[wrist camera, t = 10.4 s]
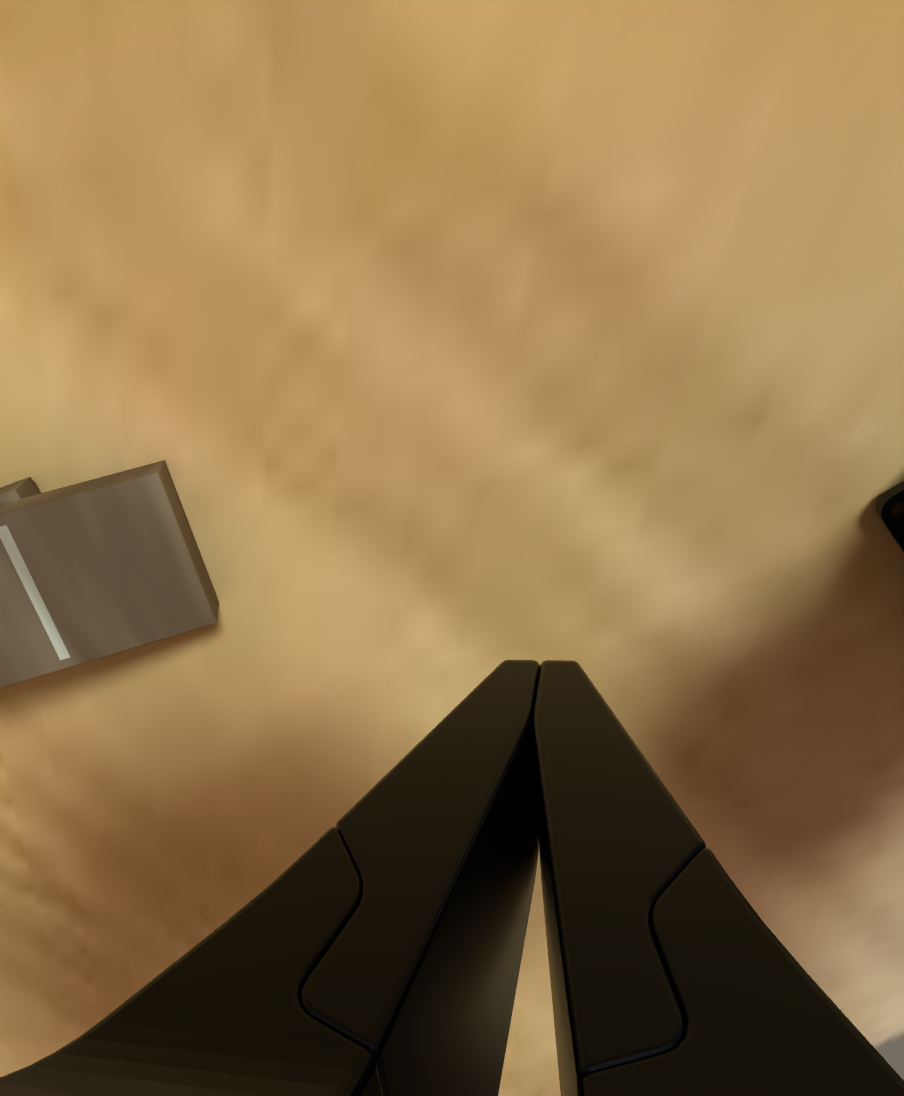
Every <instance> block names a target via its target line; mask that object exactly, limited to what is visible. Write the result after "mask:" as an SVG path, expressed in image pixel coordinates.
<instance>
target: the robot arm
mask: <svg viewBox="0 0 904 1096" xmlns="http://www.w3.org/2000/svg"><path fill="white" fill-rule="evenodd" d="M900 502H904V482H902V483H900V484H898V485H897V486H895V487H893V488H891V489H890V490H888V491H886V492H885V493H884V494H883V495H881V496H880V498H879V500H878V501H877V503H876V512H877V515H878V517H879V518H880V520H881V521H882V523H883V524H884V525H885V527H886V528H887V530H888V531H889V533H890V534H891V536H892V537H893V539H894V540H895V542H896V543H897V545H898V546H899V547H900V549H901V550H902V552H903V553H904V511H903V512H902V513H899V514H891V511H892V508H893V507H894V506H895V505H896V504H897V503H900ZM539 848H540V865H541V880H542V891H543V902H544V914H545V925H546V936H547V947H548V958H549V969H550V980H551V991H552V1002H553V1013H554V1024H555V1035H556V1047H557V1058H558V1069H559V1080H560V1091H561V1096H904V1081H903V1079H902V1078H901V1077H900V1076H899V1075H898V1074H897V1073H896V1071H895V1070H894V1069H893V1068H892V1067H891V1066H890V1065H889V1064H888V1063H887V1062H886V1060H885V1059H884V1058H883V1057H882V1056H881V1055H880V1054H879V1053H878V1052H877V1050H876V1049H875V1048H874V1047H873V1046H872V1045H871V1044H870V1043H869V1041H868V1040H867V1039H866V1038H865V1037H864V1036H863V1035H862V1034H861V1033H860V1031H859V1030H858V1029H857V1028H856V1027H855V1026H854V1025H853V1024H852V1023H851V1021H850V1020H849V1019H848V1018H847V1017H846V1016H845V1015H844V1014H843V1013H842V1011H841V1010H840V1009H839V1008H838V1007H837V1006H836V1005H835V1004H834V1003H833V1001H832V1000H831V999H830V998H829V997H828V996H827V995H826V994H825V993H824V991H823V990H822V989H821V988H820V987H819V986H818V985H817V984H816V983H815V981H814V980H813V979H812V978H811V977H810V976H809V975H808V974H807V972H806V971H805V970H804V969H803V968H802V967H801V965H800V964H799V963H798V962H797V961H796V960H795V959H794V957H793V956H792V955H791V954H790V953H789V952H788V950H787V949H786V948H785V947H784V946H783V945H782V943H781V942H780V941H779V940H778V939H777V938H776V936H775V935H774V934H773V933H772V932H771V931H770V929H769V928H768V927H767V926H766V925H765V924H764V922H763V921H762V920H761V918H760V917H759V916H758V914H757V913H756V912H755V910H754V909H753V908H752V906H751V905H750V904H749V903H748V901H747V900H746V899H745V897H744V896H743V895H742V893H741V892H740V891H739V889H738V888H737V887H736V885H735V884H734V883H733V881H732V880H731V879H730V877H729V876H728V874H727V873H726V872H725V870H724V869H723V867H722V866H721V864H720V863H719V862H718V860H717V859H716V857H715V856H714V854H713V853H712V852H711V850H709V849H707V848H706V844H705V842H704V841H703V839H702V838H701V837H700V835H699V834H698V832H697V831H696V830H695V828H694V827H693V825H692V824H691V822H690V821H689V820H688V818H687V817H686V815H685V814H684V812H683V811H682V810H681V808H680V807H679V805H678V804H677V803H676V801H675V800H674V798H673V797H672V795H671V794H670V793H669V791H668V790H667V788H666V787H665V786H664V784H663V783H662V781H661V780H660V778H659V777H658V776H657V774H656V773H655V771H654V770H653V769H652V767H651V766H650V764H649V763H648V761H647V760H646V759H645V757H644V756H643V754H642V753H641V751H640V750H639V749H638V747H637V746H636V744H635V743H634V742H633V740H632V739H631V737H630V736H629V734H628V733H627V732H626V730H625V729H624V727H623V726H622V725H621V723H620V722H619V720H618V719H617V717H616V716H615V715H614V713H613V712H612V710H611V709H610V707H609V706H608V705H607V703H606V702H605V700H604V699H603V698H602V696H601V695H600V693H599V692H598V690H597V689H596V688H595V686H594V685H593V683H592V682H591V681H590V679H589V678H588V676H587V675H586V673H585V672H584V671H583V669H582V668H581V666H580V665H579V664H578V663H577V662H575V661H553V660H547V661H544V662H542V664H541V666H540V664H539V663H538V662H537V661H534V660H506V661H504V662H502V663H501V664H500V665H499V666H498V667H497V668H496V669H495V670H494V671H493V672H492V673H491V674H490V675H488V676H487V677H486V678H485V679H484V680H483V681H482V682H481V683H480V684H479V685H478V686H477V687H476V688H475V689H474V690H473V691H472V692H471V693H470V694H469V695H468V696H467V697H466V698H465V699H464V700H463V701H462V702H461V703H460V704H459V705H458V706H457V707H455V708H454V709H453V710H452V711H451V712H450V713H449V714H448V715H447V716H446V717H445V718H444V719H443V720H442V721H441V722H440V723H439V724H438V725H437V726H436V727H435V728H434V729H433V730H432V731H431V732H430V733H429V734H428V735H427V736H426V737H425V738H424V739H423V740H421V741H420V742H419V743H418V744H417V745H416V746H415V747H414V748H413V749H412V750H411V751H410V752H409V753H408V754H407V755H406V756H405V757H404V758H403V759H402V760H401V761H400V762H399V763H398V764H397V765H396V766H395V767H394V768H393V769H392V770H391V771H390V772H388V773H387V774H386V775H385V776H384V777H383V778H382V779H381V780H380V781H379V782H378V783H377V784H376V785H375V786H374V787H373V788H372V789H371V790H370V791H369V792H368V793H367V794H366V795H365V796H364V797H363V798H362V799H361V800H360V801H359V802H358V803H357V804H355V805H354V806H353V807H352V808H351V809H350V810H349V811H348V812H347V813H346V814H345V815H344V816H343V817H342V818H341V819H340V820H339V821H338V822H337V824H336V828H335V827H332V828H330V829H329V830H328V831H327V832H326V833H325V834H324V835H323V836H322V837H321V838H320V839H319V840H318V841H317V842H316V843H315V844H314V845H313V846H312V847H311V848H310V849H309V850H308V851H307V852H305V853H304V854H303V855H302V856H301V857H300V858H299V859H298V860H297V861H296V862H295V863H293V864H292V865H291V866H290V867H289V868H288V869H287V870H286V871H285V872H284V873H283V874H281V875H280V876H279V877H278V878H277V879H276V880H275V881H274V882H273V883H272V884H271V885H269V886H268V887H267V888H266V889H265V890H263V891H262V892H261V893H260V894H259V895H257V896H256V897H255V898H254V899H253V900H251V901H250V902H249V903H248V904H247V905H245V906H244V907H243V908H242V909H241V910H239V911H238V912H237V913H236V914H235V915H233V916H232V917H231V918H230V919H228V920H227V921H226V922H225V923H224V924H222V925H221V926H220V927H219V928H217V929H216V930H215V931H214V932H212V933H211V934H210V935H209V936H207V937H206V938H205V939H204V940H202V941H201V942H200V943H199V944H197V945H196V946H195V947H193V948H192V949H191V950H190V951H188V952H187V953H186V954H185V955H183V956H182V957H181V958H180V959H178V960H177V961H176V962H175V963H173V964H172V965H171V966H170V967H168V968H167V969H166V970H164V971H163V972H162V973H161V974H159V975H158V976H157V977H156V978H154V979H153V980H152V981H151V982H149V983H148V984H147V985H146V986H144V987H143V988H142V989H141V990H139V991H138V992H137V993H136V994H134V995H133V996H132V997H130V998H129V999H128V1000H127V1001H125V1002H124V1003H123V1004H122V1005H120V1006H119V1007H118V1008H117V1009H115V1010H114V1011H113V1012H112V1013H110V1014H109V1015H108V1016H107V1017H105V1018H104V1019H103V1020H101V1021H100V1022H99V1023H97V1024H96V1025H95V1026H93V1027H92V1028H91V1029H89V1030H88V1031H87V1032H85V1033H84V1034H82V1035H81V1036H80V1037H78V1038H77V1039H75V1040H74V1041H72V1042H71V1043H69V1044H67V1045H66V1046H64V1047H63V1048H61V1049H59V1050H58V1051H56V1052H55V1053H53V1054H51V1055H49V1056H47V1057H45V1058H43V1059H42V1060H40V1061H38V1062H36V1063H34V1064H32V1065H30V1066H28V1067H25V1068H23V1069H20V1070H18V1071H15V1072H13V1073H10V1074H8V1075H5V1076H3V1077H0V1096H498V1092H499V1087H500V1081H501V1075H502V1069H503V1063H504V1057H505V1052H506V1046H507V1040H508V1034H509V1028H510V1022H511V1016H512V1011H513V1005H514V999H515V993H516V987H517V981H518V976H519V970H520V964H521V958H522V952H523V946H524V940H525V935H526V929H527V923H528V917H529V911H530V905H531V900H532V894H533V888H534V882H535V876H536V869H537V862H538V853H539Z"/></svg>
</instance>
